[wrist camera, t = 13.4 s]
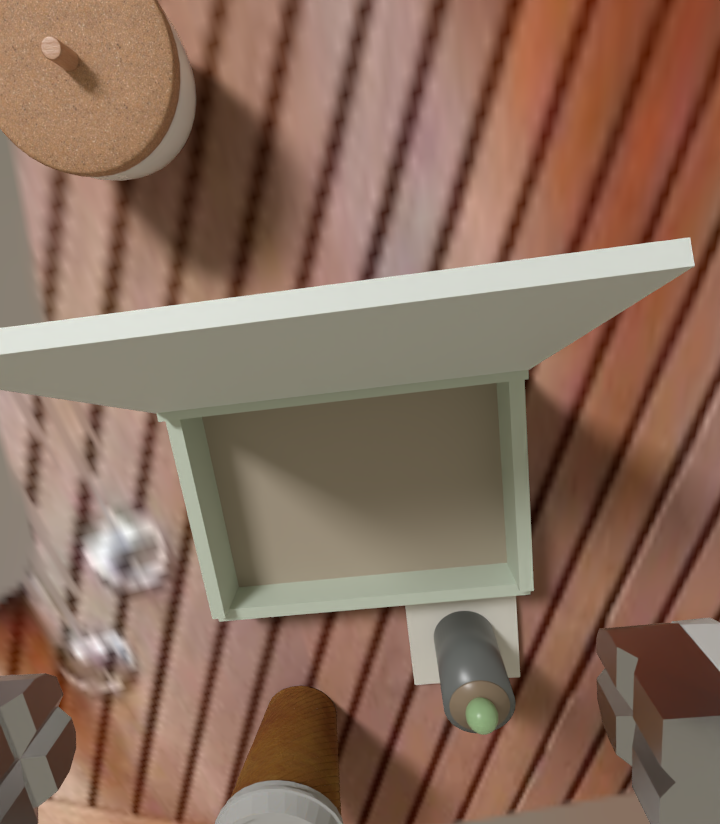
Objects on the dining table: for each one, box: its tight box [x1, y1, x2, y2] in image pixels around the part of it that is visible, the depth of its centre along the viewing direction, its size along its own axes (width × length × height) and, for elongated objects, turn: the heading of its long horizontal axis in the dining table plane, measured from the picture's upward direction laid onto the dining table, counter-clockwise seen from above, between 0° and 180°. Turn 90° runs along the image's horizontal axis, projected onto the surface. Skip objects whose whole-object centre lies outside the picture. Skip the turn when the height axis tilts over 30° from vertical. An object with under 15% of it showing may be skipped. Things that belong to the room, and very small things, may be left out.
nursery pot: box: [434, 611, 515, 734], centre depth 39 cm, size 5×5×9 cm
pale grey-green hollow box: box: [0, 238, 695, 622], centre depth 29 cm, size 24×25×23 cm
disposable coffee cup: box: [215, 686, 343, 824], centre depth 41 cm, size 10×10×12 cm
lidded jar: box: [0, 0, 196, 181], centre depth 29 cm, size 11×11×9 cm
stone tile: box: [405, 596, 520, 685], centre depth 43 cm, size 9×9×1 cm
